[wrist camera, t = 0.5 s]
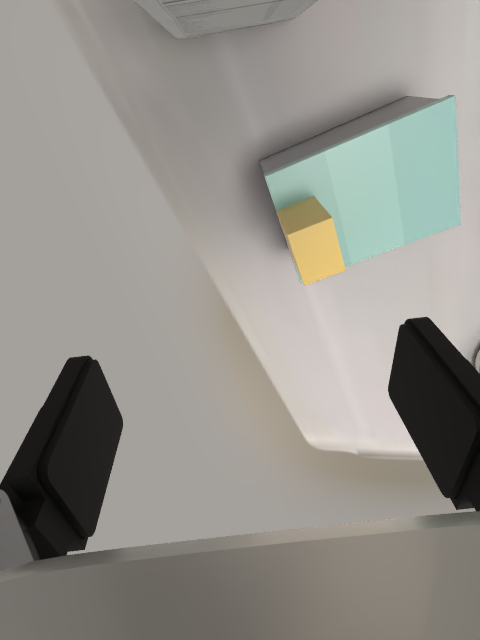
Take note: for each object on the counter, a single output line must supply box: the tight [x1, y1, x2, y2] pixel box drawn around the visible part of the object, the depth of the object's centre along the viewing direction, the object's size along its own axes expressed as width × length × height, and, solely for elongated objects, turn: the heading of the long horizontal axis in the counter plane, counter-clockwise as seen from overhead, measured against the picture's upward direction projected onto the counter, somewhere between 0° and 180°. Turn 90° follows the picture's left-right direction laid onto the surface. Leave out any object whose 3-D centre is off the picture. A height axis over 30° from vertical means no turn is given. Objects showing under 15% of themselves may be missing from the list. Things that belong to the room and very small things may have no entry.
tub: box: [259, 96, 439, 174], centre depth 30 cm, size 13×9×6 cm
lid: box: [263, 95, 461, 285], centre depth 26 cm, size 13×9×7 cm
